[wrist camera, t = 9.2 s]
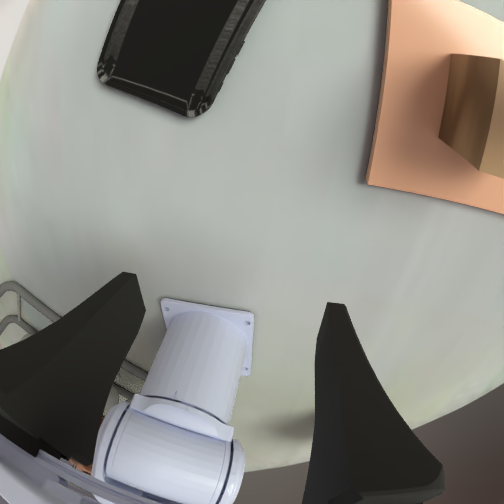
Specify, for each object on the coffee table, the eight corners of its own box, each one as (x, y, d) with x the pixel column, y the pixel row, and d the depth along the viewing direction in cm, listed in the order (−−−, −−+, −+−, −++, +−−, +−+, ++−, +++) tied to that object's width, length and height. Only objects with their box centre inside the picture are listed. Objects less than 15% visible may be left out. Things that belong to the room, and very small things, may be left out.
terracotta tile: (514, 213, 16) (519, 218, 15) (365, 179, 17) (367, 184, 16) (550, 55, 9) (557, 57, 8) (388, -19, 10) (392, -22, 9)
